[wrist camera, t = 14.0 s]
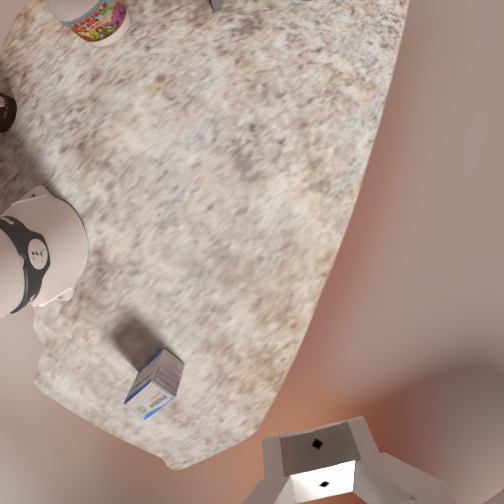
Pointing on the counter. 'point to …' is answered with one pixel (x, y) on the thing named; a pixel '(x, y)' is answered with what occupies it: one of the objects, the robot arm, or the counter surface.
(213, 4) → the box
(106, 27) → the milk bottle
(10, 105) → the coffee mug
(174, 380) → the medicine box
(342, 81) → the counter surface
